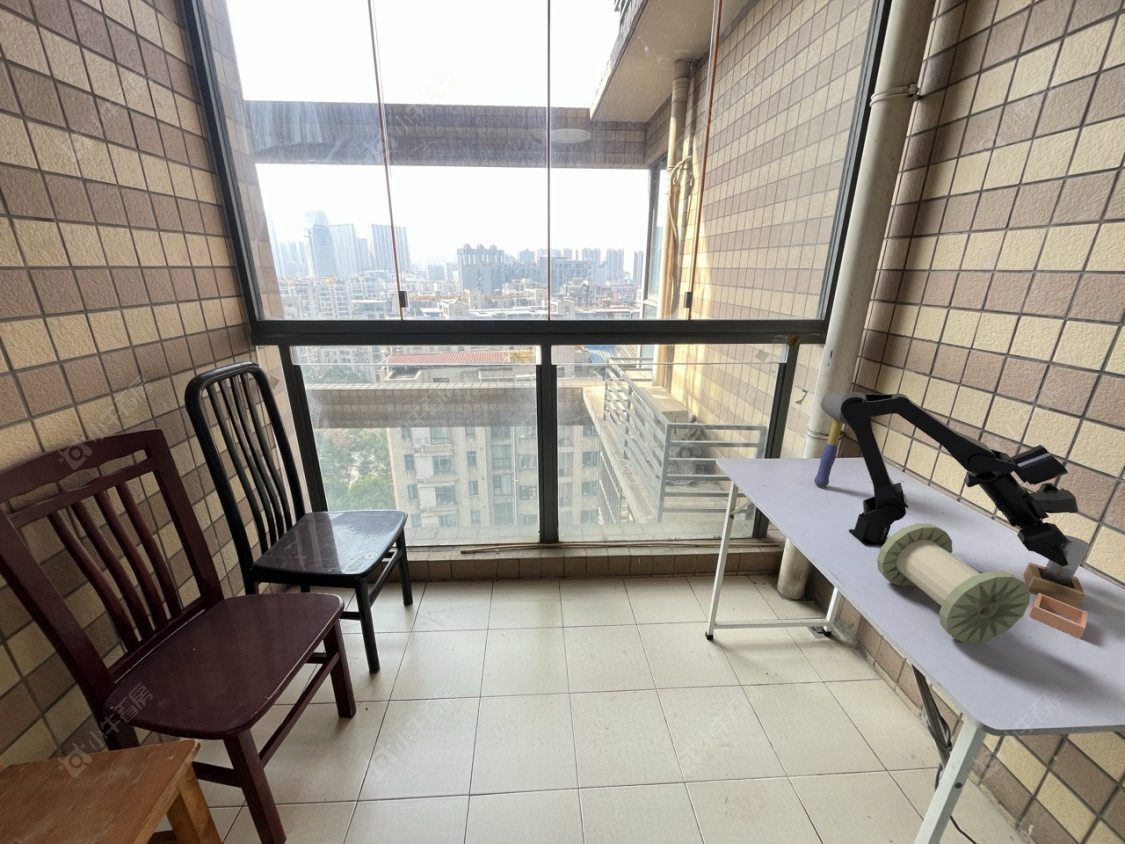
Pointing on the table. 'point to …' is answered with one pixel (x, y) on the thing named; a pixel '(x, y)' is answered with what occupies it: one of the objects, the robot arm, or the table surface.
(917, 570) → the spool
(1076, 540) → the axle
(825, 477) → the rubber mallet
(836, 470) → the table surface
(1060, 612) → the socket block
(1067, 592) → the wooden square frame
